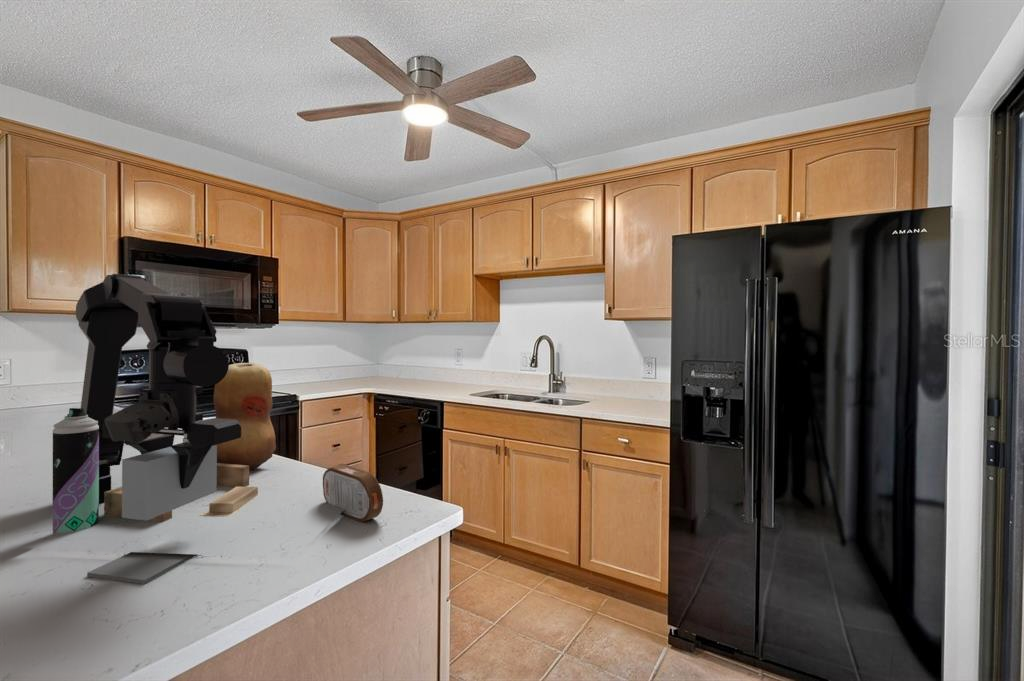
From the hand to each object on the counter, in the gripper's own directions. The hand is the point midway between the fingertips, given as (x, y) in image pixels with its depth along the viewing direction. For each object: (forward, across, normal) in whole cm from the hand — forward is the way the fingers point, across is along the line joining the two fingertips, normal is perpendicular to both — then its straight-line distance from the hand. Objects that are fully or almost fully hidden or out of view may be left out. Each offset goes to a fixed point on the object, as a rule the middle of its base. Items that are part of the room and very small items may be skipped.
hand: (172, 486), depth 71 cm
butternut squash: (+10, -19, +37) cm, 43 cm away
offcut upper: (+9, -3, +16) cm, 19 cm away
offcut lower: (+10, -3, +16) cm, 20 cm away
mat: (+10, 0, 0) cm, 10 cm away
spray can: (+10, -20, +2) cm, 23 cm away
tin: (+10, +18, +19) cm, 28 cm away
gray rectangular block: (+3, 0, 0) cm, 3 cm away
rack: (+10, -14, +16) cm, 24 cm away
